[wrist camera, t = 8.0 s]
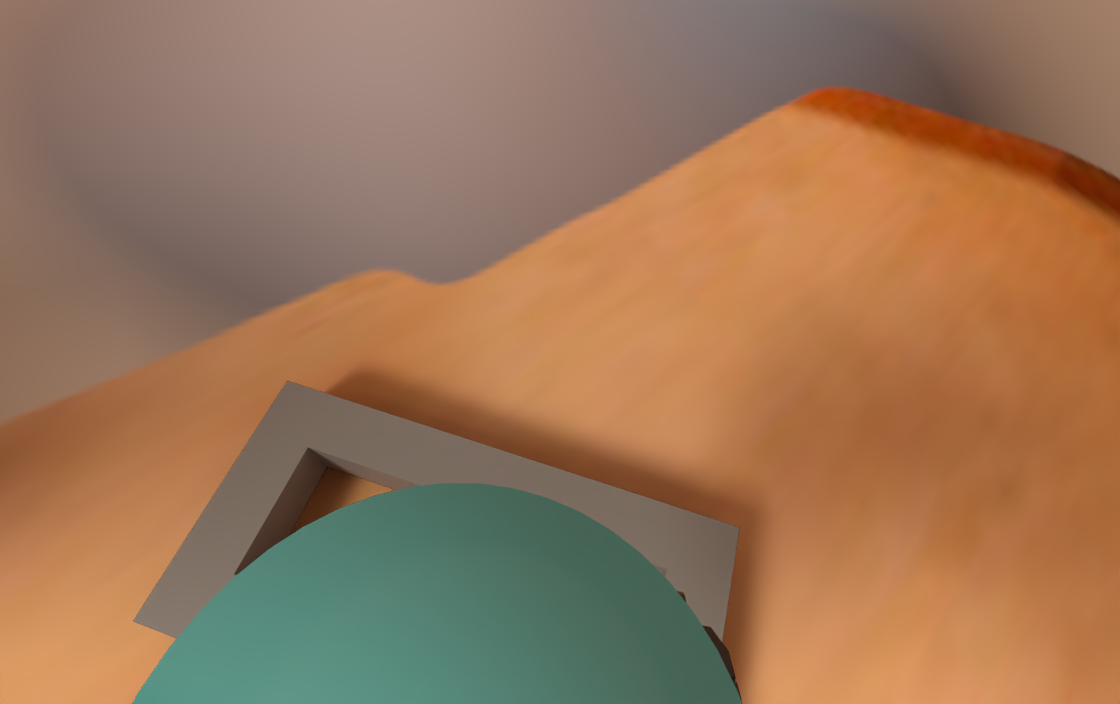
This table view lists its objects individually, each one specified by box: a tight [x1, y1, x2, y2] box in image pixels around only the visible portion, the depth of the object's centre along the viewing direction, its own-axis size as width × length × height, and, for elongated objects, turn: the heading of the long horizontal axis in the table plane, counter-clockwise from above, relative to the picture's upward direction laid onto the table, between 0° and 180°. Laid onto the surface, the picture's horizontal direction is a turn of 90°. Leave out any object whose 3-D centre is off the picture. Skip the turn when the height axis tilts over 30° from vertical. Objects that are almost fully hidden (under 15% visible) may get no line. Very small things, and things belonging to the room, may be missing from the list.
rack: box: [133, 381, 740, 642], centre depth 26 cm, size 24×12×3 cm, turn 72°
